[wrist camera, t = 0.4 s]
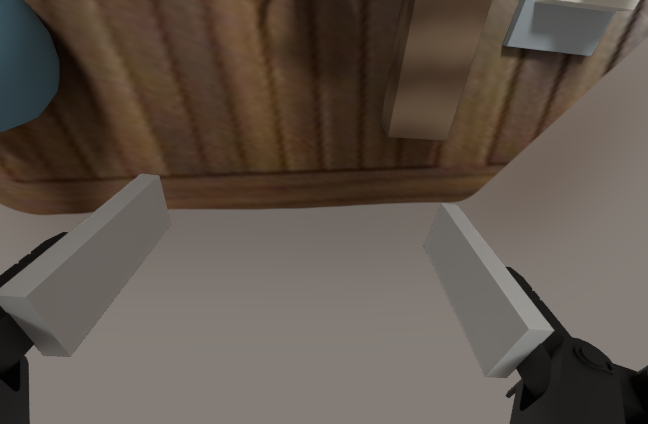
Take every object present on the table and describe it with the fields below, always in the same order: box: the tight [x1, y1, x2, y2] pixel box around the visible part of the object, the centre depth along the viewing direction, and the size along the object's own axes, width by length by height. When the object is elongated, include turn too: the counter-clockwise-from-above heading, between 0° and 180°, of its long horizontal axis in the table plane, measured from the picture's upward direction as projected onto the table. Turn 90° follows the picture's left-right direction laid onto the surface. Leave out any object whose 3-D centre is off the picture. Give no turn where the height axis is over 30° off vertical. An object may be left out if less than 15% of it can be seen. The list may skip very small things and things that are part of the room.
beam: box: [380, 0, 492, 141], centre depth 27 cm, size 26×7×6 cm, turn 176°
